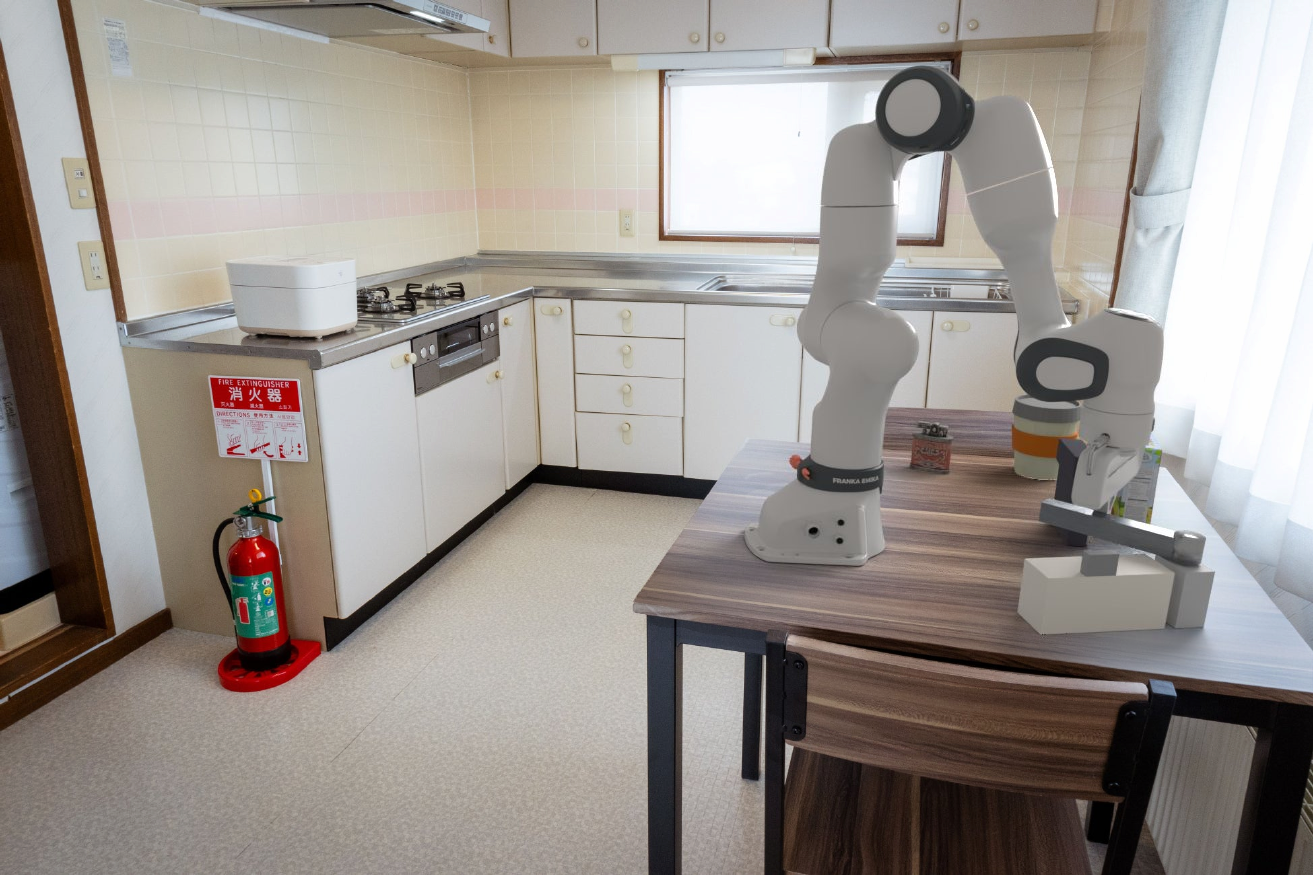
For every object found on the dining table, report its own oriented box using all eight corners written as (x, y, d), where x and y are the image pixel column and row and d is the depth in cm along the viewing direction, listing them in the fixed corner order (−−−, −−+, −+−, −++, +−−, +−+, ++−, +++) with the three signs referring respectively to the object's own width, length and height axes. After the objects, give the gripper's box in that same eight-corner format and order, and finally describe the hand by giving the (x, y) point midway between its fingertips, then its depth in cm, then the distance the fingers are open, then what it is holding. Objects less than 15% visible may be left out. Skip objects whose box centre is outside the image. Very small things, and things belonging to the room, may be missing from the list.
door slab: (1040, 634, 111) (1051, 556, 108) (1017, 612, 117) (1027, 537, 113) (1164, 628, 112) (1179, 551, 109) (1135, 607, 118) (1148, 533, 115)
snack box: (1098, 490, 163) (1110, 414, 159) (1131, 494, 161) (1144, 416, 157) (1113, 531, 144) (1127, 445, 140) (1151, 536, 142) (1166, 449, 138)
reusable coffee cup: (1004, 460, 180) (1013, 391, 176) (1070, 467, 176) (1081, 396, 172) (1004, 479, 169) (1013, 405, 165) (1074, 487, 165) (1086, 411, 160)
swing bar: (1205, 559, 113) (1209, 536, 112) (1195, 567, 111) (1200, 543, 110) (1048, 516, 128) (1051, 494, 127) (1037, 522, 125) (1040, 500, 125)
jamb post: (1175, 628, 112) (1185, 572, 110) (1146, 606, 118) (1155, 553, 116) (1203, 626, 113) (1215, 571, 111) (1173, 605, 119) (1183, 552, 116)
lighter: (951, 471, 174) (956, 423, 171) (947, 475, 171) (952, 427, 168) (912, 464, 178) (916, 418, 175) (907, 468, 175) (911, 421, 172)
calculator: (1091, 547, 137) (1105, 458, 133) (1062, 545, 138) (1075, 457, 134) (1073, 522, 148) (1086, 439, 143) (1047, 520, 148) (1058, 437, 144)
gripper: (1118, 448, 109) (1103, 548, 113) (1158, 416, 124) (1143, 506, 128) (1066, 439, 113) (1053, 536, 117) (1111, 409, 128) (1098, 496, 132)
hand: (1100, 520), depth 123 cm, fingers closed
